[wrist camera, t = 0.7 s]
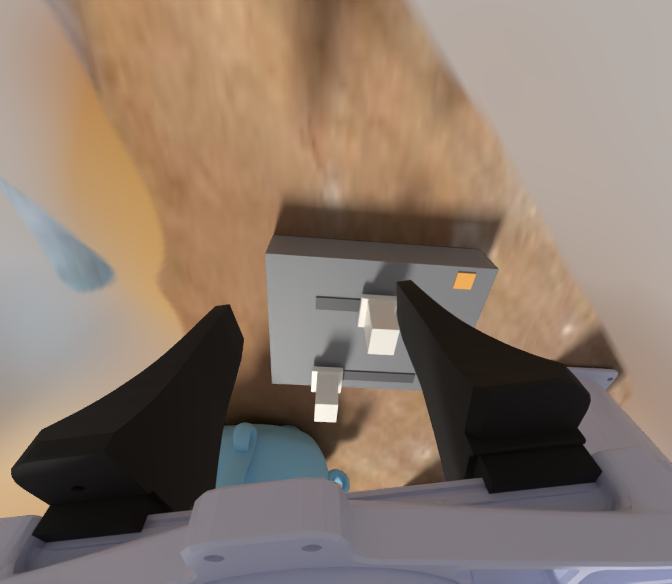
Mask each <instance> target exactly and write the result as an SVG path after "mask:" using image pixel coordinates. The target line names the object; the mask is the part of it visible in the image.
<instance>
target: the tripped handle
mask: <svg viewBox="0 0 672 584" xmlns="http://www.w3.org/2000/svg"><path fill="white" fill-rule="evenodd" d="M396 310H397V296H385V295H369V294H361V301H360V308H359V315H358V321H357V324H358V327H364V329H365V337H366V345H367V352H368V354H378V355H394V351H395V347H396V343H397V339H398V335H399V331H400V330H399V326H398V322H397V319H396V315H395V314H396Z"/></svg>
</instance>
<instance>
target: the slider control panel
mask: <svg viewBox="0 0 672 584" xmlns="http://www.w3.org/2000/svg"><path fill="white" fill-rule="evenodd" d="M265 257H266V276H267V296H268V315H269V335H270V354H271V374H272V384H292V385H311V382H312V366H317V367H337V368H343V378H342V385H341V387H355V388H376V389H397V390H418V391H422V388H421V385H420V382H419V380H418V377H417V375H416V372H415V370H414V367H413V365H412V362H411V360H410V357H409V355H408V352H407V350H406V347H405V345H404V342H403V340H402V336H401V332H400V331H399V335H398V339H397V343H396V347H395V351H394V355H378V354H368V352H367V345H366V337H365V329H364V327H358V324H357V321H358V315H359V308H360V301H361V294H369V295H385V296H397V290H396V282H398V281H405V280H412V281H413V282H414V283H415V284H416V285H417V286H419V287H420V288H421V289H422V290H423V291H424V292H425V293H426V294H427V295H429V296H430V297H431V298H432V299H433V300H435V301H436V302H437V303H438V304H440V305H441V306H442V307H443V308H445V309H446V310H447V311H449V312H450V313H451V314H453V315H454V316H456V317H457V318H459V319H460V320H462V321H463V322H465V323H467V324H468V325H470V326H472V327H473V328H475V326H476V323H477V321H478V318H479V316H480V314H481V311H482V309H483V306H484V304H485V302H486V299H487V297H488V294H489V292H490V290H491V287H492V285H493V282H494V280H495V278H496V275H497V273H498V270H499V269H498V268H497V267H496V266H495V265H494V264H493V263H492V261H491V260H490V259H489V258H488V257H487V256H486V255H485V254H484V253H483V252H482V251H481V250H480V249H465V248H451V247H437V246H423V245H409V244H395V243H381V242H366V241H352V240H338V239H324V238H310V237H296V236H282V235H273V237H272V239H271V241H270V244H269V246H268V248H267V251H266V253H265ZM395 315H396V319H397V310H396V314H395ZM397 322H398V320H397ZM398 326H399V324H398ZM399 330H400V328H399Z"/></svg>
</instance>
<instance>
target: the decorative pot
mask: <svg viewBox="0 0 672 584" xmlns="http://www.w3.org/2000/svg"><path fill="white" fill-rule="evenodd" d="M296 478H324V479H327V480H330V481H334V482H339V483H340V484H341V485H342V489H343V490H344V491H345V492H346V493H348V491H349V488H350V482H349V478H348V476H347V475H346V474H345V473H344V472H343V471H341V470H338V469H333V470H330V471H329V472H328V468H327V464H326V460H325V458H324V455H323V453H322V451H321V450H320V448H319V446H318V445H317V444H316V442H315V441H314V439H313V438H312V437H311V436H309V435H308V434H306V433H304V432H302V431H300V430H299V429H298V428H297V427H295V426H292V425H284V426H276V425H267V424H250V423H246V422H244V423H240V424H238V425H226V426H224V429H223V435H222V441H221V448H220V455H219V462H218V471H217V479H216V488H220V487H226V486H234V485H243V484H252V483H261V482H269V481H278V480H287V479H296ZM216 488H215V489H216Z"/></svg>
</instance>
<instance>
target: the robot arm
mask: <svg viewBox="0 0 672 584" xmlns="http://www.w3.org/2000/svg"><path fill="white" fill-rule="evenodd" d="M396 290H397V320H398V324H399V328H400V332H401V336H402V340H403V342H404V345H405V347H406V350H407V352H408V355H409V357H410V360H411V362H412V365H413V367H414V370H415V372H416V375H417V377H418V380H419V382H420V385H421V388H422V391H423V395H424V398H425V402H426V405H427V409H428V412H429V416H430V420H431V423H432V427H433V431H434V435H435V439H436V442H437V446H438V450H439V454H440V458H441V462H442V466H443V471H444V475H445V479H446V482H438V483H430V484H421V485H412V486H403V487H394V488H385V489H376V490H367V491H358V492H349V493H346V492H345V491H344V490H343V489H342V488H341V487H340V486H339V485H338V484H337V483H336V482H334V481H330V480H327V479H324V478H296V479H287V480H278V481H269V482H261V483H252V484H243V485H234V486H226V487H220V488H216V479H217V471H218V462H219V455H220V448H221V441H222V435H223V429H224V423H225V417H226V412H227V408H228V404H229V401H230V397H231V394H232V390H233V387H234V384H235V380H236V377H237V373H238V370H239V366H240V362H241V358H242V351H243V343H244V338H243V336H242V333H241V331H240V328H239V326H238V323H237V321H236V319H235V316H234V314H233V311H232V309H231V307H230V304H228V305H221V306H215V307H214V308H213V309H212V310H211V311H210V312H209V313H208V314H207V315H206V316H204V317H203V318H202V319H201V320H200V321H199V322H198V323H197V324H196V325H195V326H194V327H193V328H192V329H191V330H190V331H189V332H188V333H187V334H186V335H185V336H184V337H183V338H182V339H181V340H180V341H179V342H177V343H176V344H175V345H174V346H173V347H172V348H171V349H170V350H169V351H167V352H166V353H165V354H164V355H163V356H161V357H160V358H159V359H158V360H157V361H156V362H154V363H153V364H151V365H150V366H149V367H148V368H146V369H145V370H144V371H142V372H141V373H139V374H138V375H137V376H135V377H134V378H132V379H131V380H129V381H128V382H126V383H125V384H123V385H122V386H120V387H119V388H117V389H116V390H114V391H113V392H111V393H109V394H108V395H106V396H104V397H103V398H101V399H100V400H98V401H96V402H94V403H92V404H91V405H89V406H87V407H85V408H84V409H82V410H80V411H78V412H76V413H74V414H72V415H70V416H68V417H66V418H64V419H62V420H60V421H58V422H56V423H54V424H52V425H50V426H48V427H47V428H44V429H42V430H41V431H40V432H39V434H38V435H37V436H36V437H35V439H34V440H33V441H32V443H31V444H30V445H29V446H28V448H27V449H26V450H25V452H24V453H23V454H22V456H21V457H20V458H19V460H18V461H17V462H16V463H15V465H14V466H13V467H12V468H11V475H12V478H13V479H14V481H15V482H16V483H17V484H18V485H19V486H20V487H22V488H23V489H25V490H26V491H28V492H29V493H31V494H33V495H34V496H36V497H37V498H39V499H41V500H42V501H44V502H46V503H47V504H48V505H50V506H49V508H48V510H47V511H46V513H45V514H44V516H43V517H41V516H36V515H26V516H17V517H9V518H0V584H672V462H671V461H670V460H669V459H668V458H667V457H666V456H665V455H664V454H663V453H662V451H661V450H660V449H659V448H658V447H657V446H656V445H655V444H654V443H653V442H652V441H651V439H650V438H649V437H648V436H647V435H646V434H645V433H644V432H643V431H642V430H641V429H640V427H639V426H638V425H637V424H636V423H635V422H634V421H633V420H632V419H631V418H630V416H629V415H628V414H627V413H626V412H625V411H624V410H623V409H622V408H621V407H620V406H619V404H618V403H617V402H616V401H615V400H614V399H613V398H612V397H611V396H610V395H609V394H608V392H607V391H606V389H607V388H608V387H609V386H610V385H611V383H612V382H613V381H614V380H615V379H616V377H617V376H618V372H617V371H616V370H614V369H599V368H580V367H566V366H565V365H564V364H561V363H558V362H555V361H552V360H548V359H545V358H542V357H539V356H536V355H533V354H530V353H528V352H525V351H522V350H520V349H517V348H515V347H512V346H510V345H508V344H505V343H503V342H501V341H499V340H497V339H495V338H492V337H490V336H488V335H486V334H484V333H482V332H481V331H479V330H477V329H475V328H473V327H472V326H470V325H468V324H467V323H465V322H463V321H462V320H460V319H459V318H457V317H456V316H454V315H453V314H451V313H450V312H449V311H447V310H446V309H445V308H443V307H442V306H441V305H440V304H438V303H437V302H436V301H435V300H433V299H432V298H431V297H430V296H429V295H427V294H426V293H425V292H424V291H423V290H422V289H421V288H420V287H419V286H417V285H416V284H415V283H414V282H413V281H412V280H405V281H398V282H396ZM215 488H216V489H215Z"/></svg>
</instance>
